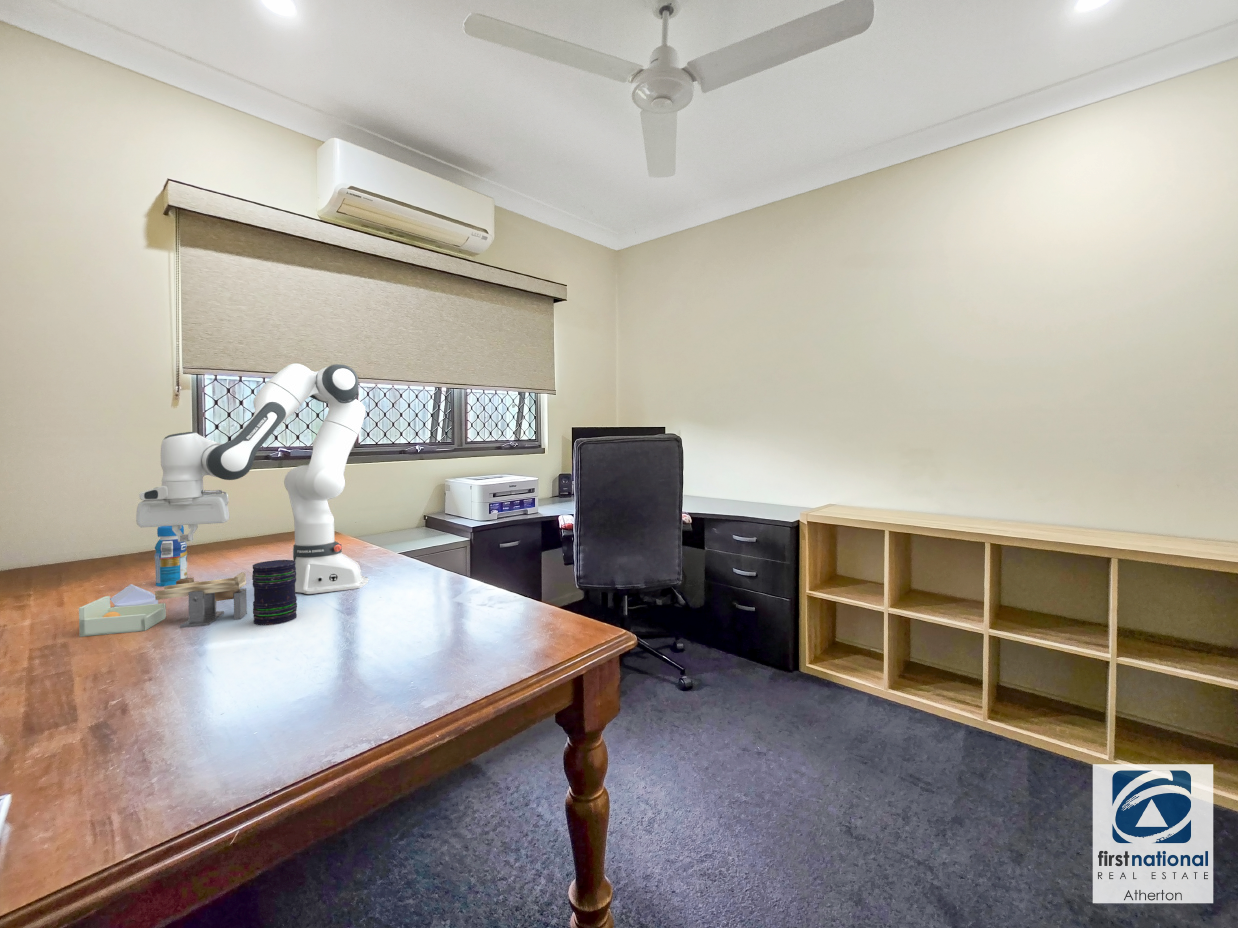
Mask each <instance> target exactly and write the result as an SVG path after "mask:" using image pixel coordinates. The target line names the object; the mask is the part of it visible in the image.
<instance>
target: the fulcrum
mask: <svg viewBox="0 0 1238 928" xmlns="http://www.w3.org/2000/svg"><path fill="white" fill-rule="evenodd" d="M247 595H248V594H247V588H240V589H239V590H238V591H236V592H235V593H234V599H233V620H234V621H235V620H241V619H243V618H244V617H245V616H246V615H247V614H248V610H247V609H248V607H247V606H248V605H247V604H248V603H247V601H248V600H247ZM187 597H188V619H187V620H186V621H184V622H182V624H180V625H179V626H180V628H181V629H182V628H191V627H201V626H203V627H204V626H210V625H211V624H212V623H213V622H214V621H216V620H217V619H219V618H220V617H222V615H224V614H225V610H220V611H219V610H218V611H217V601H215V593H207V594H204V590H202V591H190V592H188V596H187Z"/></svg>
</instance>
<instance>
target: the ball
mask: <svg viewBox="0 0 1238 928" xmlns="http://www.w3.org/2000/svg"><path fill="white" fill-rule="evenodd" d="M115 616H121V615H120V614H119V613H118V612H109V613H106V614H105V615H104V616H103V617H115ZM103 617H102V618H103Z"/></svg>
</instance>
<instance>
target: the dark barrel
mask: <svg viewBox="0 0 1238 928" xmlns="http://www.w3.org/2000/svg"><path fill="white" fill-rule="evenodd" d="M295 565H296V561H294V560H293V559H274V560H268V561H261V562H257V563H254V564H252V576H251V578H252V588H253V599H254V600H253V602H252V607H253V608H252V614H253V624H254V625H255V626H274V625H279V624H285V623H289V622H291V621H293V620H296V619H297V617H298V616H297V611H298V610H297V608H298V602H297V600H298V598H297V596H296V592H295V583H296V566H295Z"/></svg>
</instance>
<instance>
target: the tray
mask: <svg viewBox="0 0 1238 928" xmlns="http://www.w3.org/2000/svg"><path fill="white" fill-rule="evenodd" d="M110 598H111V595H107V596H106V595H105V596H103V597H100V598H98V599H96V600H94V601H91V602H89V603H86V604H85V605H83V606H82V605H81V606H80V607H78V621H79V623H78V624H79V627H78V629H79V630H78V632H79V638H81V637H92V636H102V635H103V636H104V635H111V634H112V635H114V634H116V635H117V634H125V633H137V632H145V631H148V630H149V629H150V628H152V627H154V626H155V625H157V624H158V623H160V622H162V621H163V620H165V619H166V618H167V614H166V612H167V611H166V609H167V607H166V602H163V603H158V604H148V605H135V606H123V607H114V606H112V607H111V600H110ZM109 612H118V613H119V614H120V615H121V616H115V617H103V616H104V615H105V614H106V613H109ZM102 617H103V618H102Z"/></svg>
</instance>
